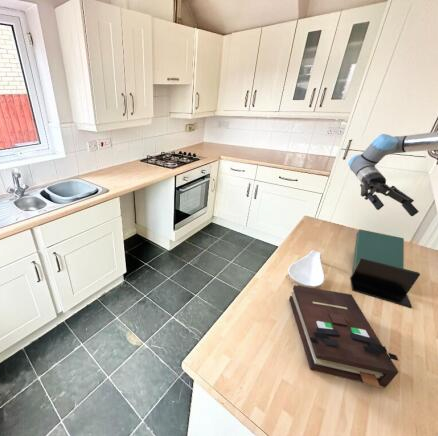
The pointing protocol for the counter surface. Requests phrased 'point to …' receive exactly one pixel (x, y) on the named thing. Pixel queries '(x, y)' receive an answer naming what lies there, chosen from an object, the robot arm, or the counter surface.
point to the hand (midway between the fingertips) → (397, 210)
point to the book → (379, 248)
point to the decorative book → (340, 337)
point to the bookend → (383, 281)
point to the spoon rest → (308, 270)
